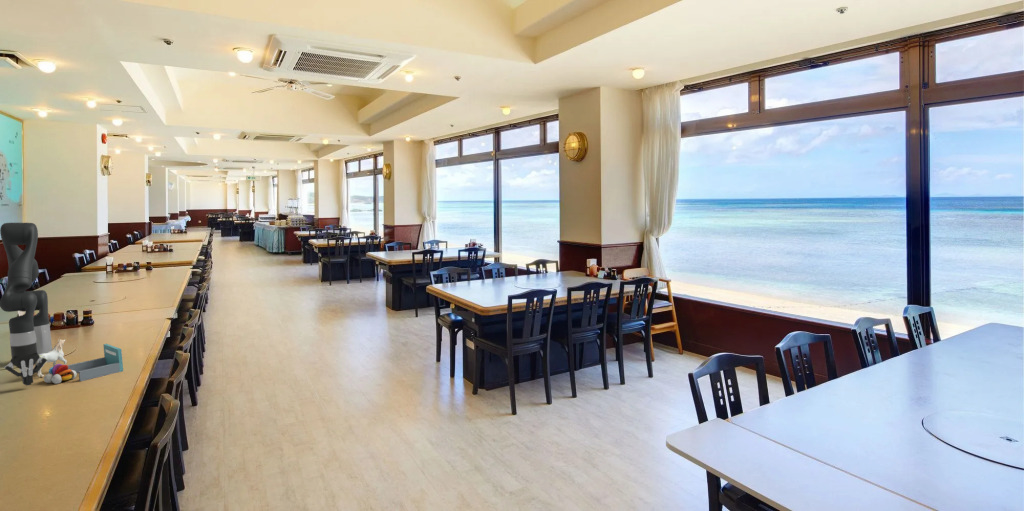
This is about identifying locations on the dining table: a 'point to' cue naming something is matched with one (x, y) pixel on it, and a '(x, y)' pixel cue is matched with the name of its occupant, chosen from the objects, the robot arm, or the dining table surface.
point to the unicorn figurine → (53, 356)
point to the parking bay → (100, 364)
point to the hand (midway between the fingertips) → (28, 384)
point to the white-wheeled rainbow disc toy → (59, 374)
